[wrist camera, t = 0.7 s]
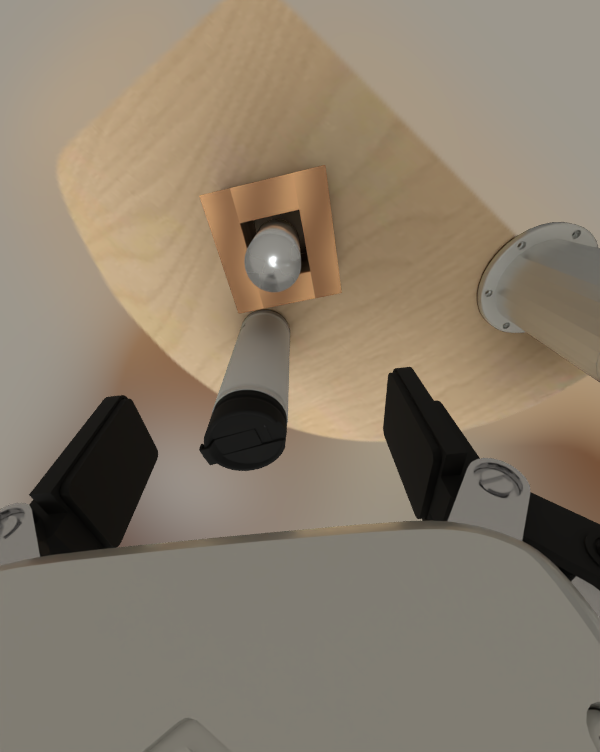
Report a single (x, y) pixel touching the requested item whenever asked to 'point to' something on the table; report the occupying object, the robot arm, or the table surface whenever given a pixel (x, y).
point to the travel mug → (252, 397)
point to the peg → (274, 256)
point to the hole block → (237, 230)
